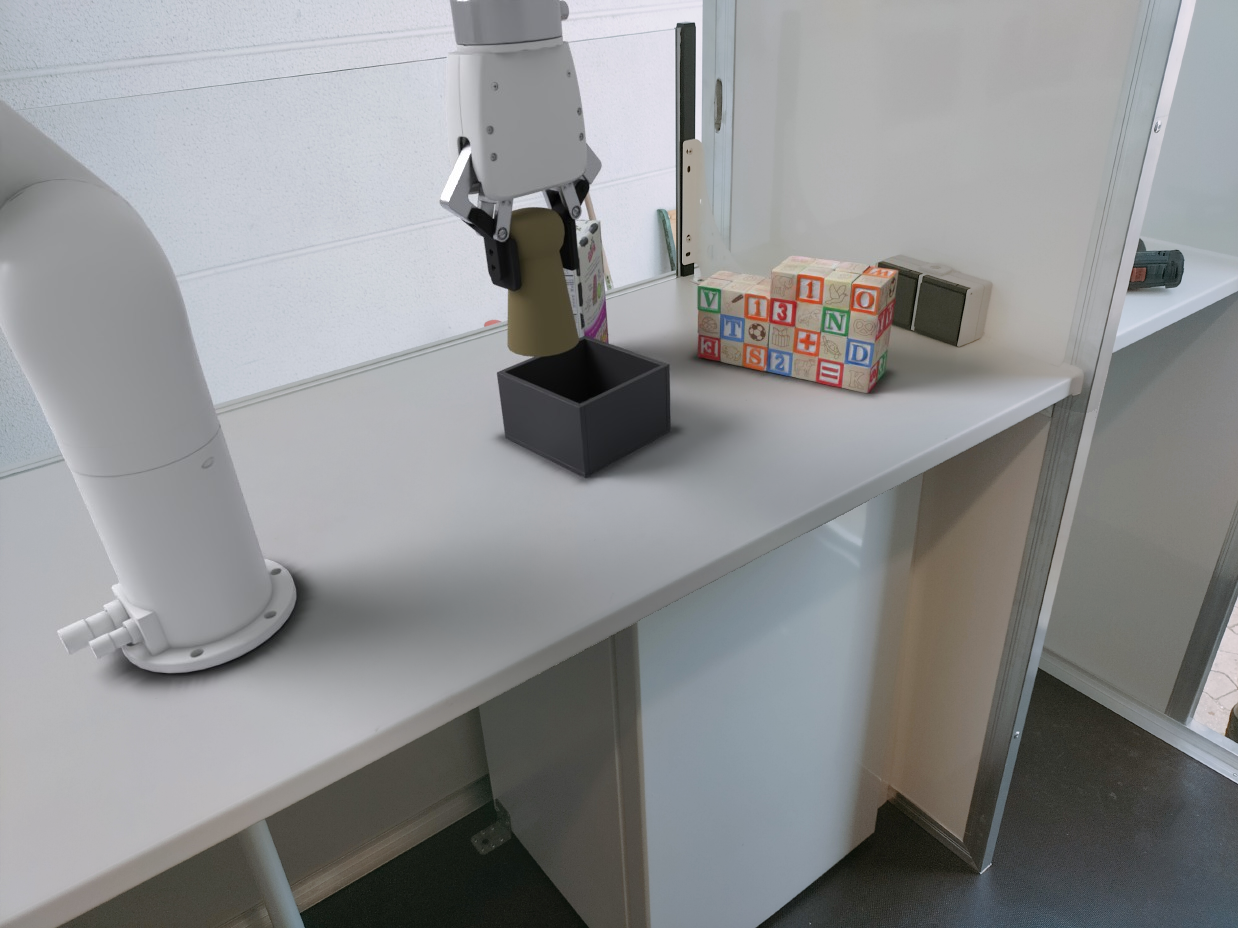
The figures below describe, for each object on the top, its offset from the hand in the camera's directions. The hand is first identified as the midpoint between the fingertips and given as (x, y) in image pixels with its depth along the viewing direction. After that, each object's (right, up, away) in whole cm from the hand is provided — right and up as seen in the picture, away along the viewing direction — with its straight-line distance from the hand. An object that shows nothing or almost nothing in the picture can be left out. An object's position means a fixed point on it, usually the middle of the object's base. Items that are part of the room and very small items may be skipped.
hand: (535, 274), depth 69 cm
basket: (+3, -12, +20) cm, 23 cm away
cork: (0, -5, +3) cm, 6 cm away
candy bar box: (+2, -4, +34) cm, 35 cm away
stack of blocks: (+27, -4, +32) cm, 42 cm away
